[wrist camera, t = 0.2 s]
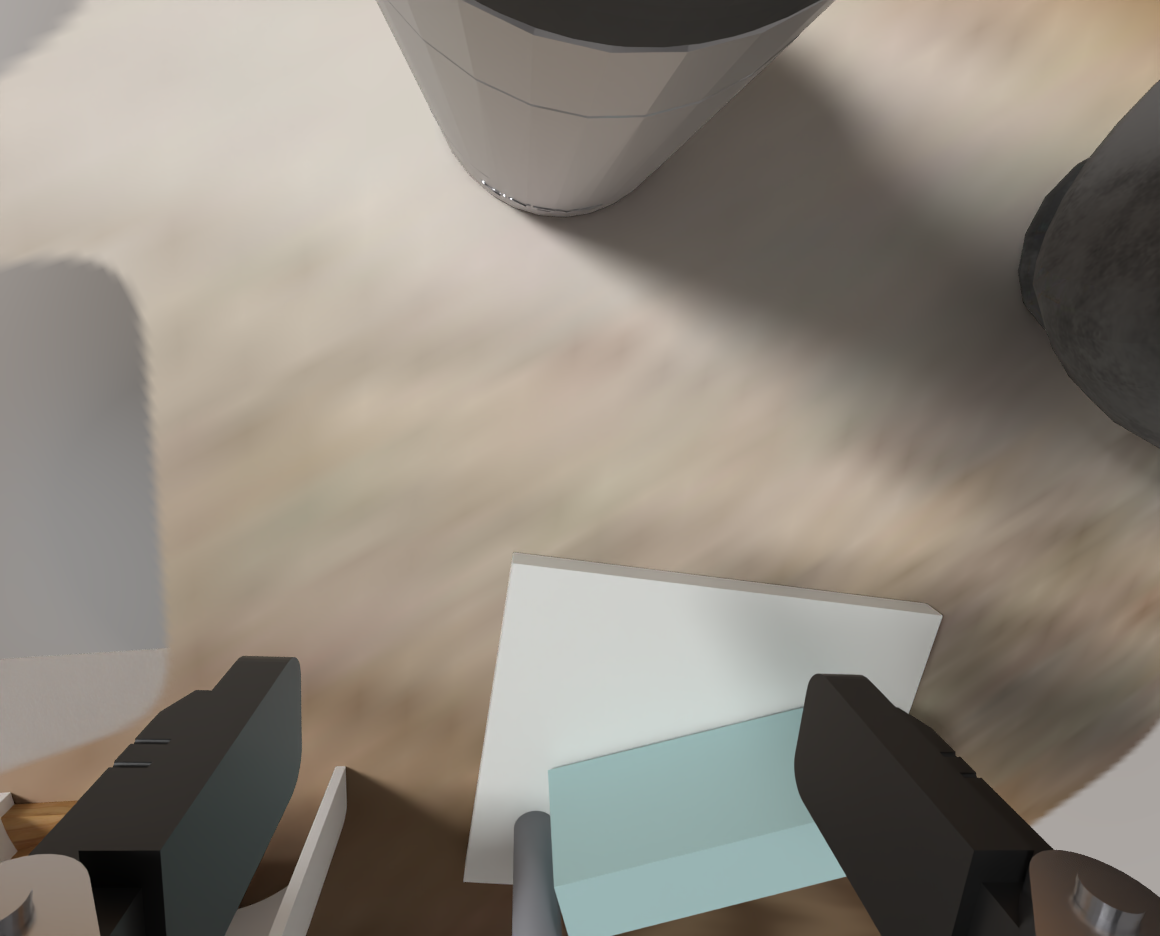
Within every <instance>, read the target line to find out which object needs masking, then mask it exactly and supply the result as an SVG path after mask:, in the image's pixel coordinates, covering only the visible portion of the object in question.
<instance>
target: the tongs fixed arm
mask: <svg viewBox="0 0 1160 936" xmlns="http://www.w3.org/2000/svg"><path fill="white" fill-rule="evenodd" d="M561 924H562V936H568V933H567V930H566V926H565V923H564V919H563V916H562V913H561ZM613 936H881V934H880V933H879V931H878V929H877V927H876V926H875V924H874V922H873V921H872V919H871V917H870V916H869V914H868V912H867V910H866V909H865V907H864V905H863V904H862V902H861V900H860V898H859V897H858V895H857V893H856V892H855V890H854V888H853V887H852V885H851V883H850V881H849V880H848V878H847V876H846V877H842V878H838V879H834V880H830V881H826V882H822V883H818V884H815V885H811V886H807V887H803V888H799V889H795V890H791V891H787V892H783V893H779V894H775V895H771V896H767V897H763V898H759V899H755V900H751V901H747V902H743V903H739V904H735V905H731V906H728V907H724V908H720V909H716V910H712V911H708V912H704V913H700V914H696V915H692V916H688V917H684V918H680V919H676V920H672V921H668V922H664V923H660V924H656V925H652V926H648V927H644V928H641V929H637V930H633V931H629V932H625V933H621V934H617V935H613Z"/></svg>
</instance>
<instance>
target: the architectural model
mask: <svg viewBox="0 0 1160 936" xmlns="http://www.w3.org/2000/svg"><path fill="white" fill-rule="evenodd" d="M167 652H168V648H160V649H145V650H130V651H114V652H99V653H83V654H69V655H68V654H67V655H52V656H37V657H21V658H5V659H0V773H1V772H4V771H6V770H9V769H12V768H15V767H18V766H21V765H24V764H27V763H30V762H33V761H36V760H39V759H42V758H45V757H48V756H51V755H54V754H57V753H60V752H62V751H65V750H68V749H71V748H74V747H77V746H80V745H83V744H86V743H89V742H92V741H94V740H97V739H100V738H103V737H106V736H108V735H111V734H113V733H116V732H118V731H120V730H122V729H124V728H126V727H128V726H129V725H130V724H132V723H133V722H134V721H136V720H138V719H139V718H141V717H143V716H144V715H145V714H146V713H147V712H148V711H149V709H150V708H151V707H152V706H154V704H155V703H156V701H157V699H158V698H159V696H160V694H161V691H162V689H163V686H164V683H165V677H166V674H167V663H168V662H167ZM76 803H77V801H64V802H46V803H28V804H14V801H13V798H12V795H11V792H8V793H0V863H1V862H4V861H7V860H11V859H15V858H19V857H23V856H28V855H29V854H30V853H31V851H32V850H33V849H34V848H35V847H36V846H37V845H38V844H39V843H40V842H41V841H42V840H43V838H44V837H45V836H46V835H47V834H48V833H49V832H50V831H51V830H52V829H53V828H54V826H55V825H56V824H57V823H58V822H59V821H60V820H61V819H62V818H63V817H64V816H65V815H66V813H67V812H68V811H69V810H70V809H71V808H72V807H73V806H74V805H75V804H76ZM346 810H347V794H346V766H336V767H335V769H334V772H333V774H332V777H331V779H330V782H329V784H328V787H327V789H326V792H325V795H324V797H323V800H322V802H321V805H320V807H319V810H318V812H317V815H316V817H315V820H314V822H313V825H312V827H311V830H310V832H309V835H308V837H307V840H306V842H305V845H304V847H303V850H302V852H301V855H300V857H299V860H298V862H297V865H296V868H295V870H294V873H293V875H292V878H291V880H290V883H289V885H288V886H287V887H285V888H284V889H282V890H281V891H279V892H277V893H276V894H274V895H272V896H270V897H268V898H266V899H264V900H262V901H260V902H257V903H255V904H252V905H249V906H247V907H244V908H240V909H237V911H236V913H235V915H234V917H233V919H232V921H231V923H230V925H229V927H228V929H227V932H226V934H225V936H306V934H307V931H308V928H309V925H310V922H311V919H312V916H313V913H314V910H315V907H316V904H317V901H318V898H319V895H320V893H321V890H322V887H323V884H324V881H325V878H326V875H327V872H328V869H329V866H330V863H331V860H332V857H333V854H334V851H335V848H336V845H337V842H338V839H339V836H340V834H341V831H342V828H343V824H344V820H345V816H346Z"/></svg>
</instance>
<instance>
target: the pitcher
mask: <svg viewBox="0 0 1160 936" xmlns="http://www.w3.org/2000/svg"><path fill="white" fill-rule="evenodd" d="M1018 273H1019V279H1020V285H1021V291H1022V297H1023V303H1024V304H1025V305H1026V307H1027V308H1028V309H1029V311H1030V312H1031V313H1032V314H1033V316H1034V317H1035V318H1036V319H1037V321H1038V322H1039V323H1040V325H1041V326H1042V327H1043V328H1044V329H1045V330H1046V332H1047V334H1048V337H1049V340H1050V343H1051V346H1052V348H1053V350H1054V352H1055V354H1056V355H1057V357H1058V359H1059V360H1060V362H1061V364H1062V365H1063V367H1064V369H1065V371H1066V372H1067V374H1068V376H1069V377H1070V378H1071V379H1072V380H1073V381H1074V382H1075V383H1076V384H1077V385H1078V386H1079V387H1080V388H1081V390H1082V391H1083V392H1084V393H1085V394H1086V395H1087V396H1088V397H1089V398H1090V399H1091V400H1092V401H1093V402H1094V403H1095V404H1096V405H1097V406H1098V407H1099V408H1100V409H1101V410H1102V411H1103V412H1104V413H1105V414H1106V415H1107V416H1108V417H1109V418H1111V419H1112V420H1113V421H1114V422H1115V423H1117V424H1119V425H1120V426H1122V427H1124V428H1125V429H1127V430H1129V431H1131V432H1132V433H1134V434H1136V435H1138V436H1139V437H1141V438H1143V439H1144V440H1146V441H1148V442H1150V443H1151V444H1153V445H1155V446H1156V447H1158V448H1160V80H1159V81H1158V82H1157V83H1156V84H1155V85H1154V86H1153V87H1152V88H1151V89H1150V90H1149V91H1148V92H1147V93H1146V94H1145V95H1144V96H1143V97H1142V98H1141V99H1140V100H1139V101H1138V102H1137V103H1136V104H1135V105H1134V106H1133V107H1132V109H1131V110H1130V111H1129V112H1128V113H1127V114H1126V115H1125V116H1124V117H1123V118H1122V119H1121V120H1120V121H1119V122H1118V123H1117V124H1116V126H1115V127H1114V128H1113V129H1112V131H1111V132H1110V133H1109V134H1108V135H1107V137H1106V138H1105V139H1104V140H1103V142H1102V143H1101V144H1100V145H1099V147H1098V148H1097V149H1096V150H1095V151H1094V153H1093V154H1092V155H1091V156H1090V158H1088V159H1086V160H1084V161H1082V162H1081V163H1079V164H1077V165H1076V166H1075V167H1074V168H1073V169H1072V170H1071V171H1070V172H1069V173H1068V174H1067V175H1066V176H1065V177H1064V178H1063V179H1062V180H1061V181H1060V182H1059V183H1058V184H1057V186H1056V187H1055V188H1054V189H1053V190H1052V191H1051V192H1050V193H1049V194H1048V195H1047V196H1046V197H1045V199H1044V200H1043V202H1042V204H1041V206H1040V208H1039V210H1038V212H1037V214H1036V215H1035V217H1034V219H1033V221H1032V223H1031V225H1030V227H1029V229H1028V230H1027V232H1026V235H1025V240H1024V245H1023V250H1022V255H1021V260H1020V265H1019V270H1018Z"/></svg>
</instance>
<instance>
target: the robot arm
mask: <svg viewBox="0 0 1160 936" xmlns="http://www.w3.org/2000/svg"><path fill="white" fill-rule="evenodd" d="M376 1H377V3H378V5H379V7H380V9H381V11H382V13H383V15H384V17H385V19H386V21H387V23H388V25H389V27H390V29H391V31H392V33H393V35H394V37H395V39H396V41H397V43H398V45H399V47H400V49H401V51H402V53H403V55H404V57H405V59H406V61H407V63H408V65H409V67H410V69H411V71H412V73H413V75H414V77H415V79H416V81H417V83H418V85H419V87H420V89H421V91H422V93H423V95H424V97H425V99H426V101H427V103H428V105H429V108H430V110H431V112H432V114H433V115H434V117H435V119H436V121H437V123H438V125H439V126H440V128H441V130H442V132H443V134H444V136H445V138H446V140H447V142H448V144H449V146H450V148H451V151H452V153H453V154H454V155H455V157H456V158H457V159H458V161H459V162H460V163H461V165H462V166H463V167H464V169H465V170H466V171H467V172H468V174H469V175H470V176H471V177H472V178H473V179H474V180H475V181H476V182H478V183H479V184H480V185H481V186H482V187H483V188H484V189H486V190H487V191H488V192H489V193H490V194H491V195H493V196H495V197H497V198H498V199H500V200H502V201H504V202H505V203H507V204H509V205H511V206H512V207H514V208H518V209H521V210H524V211H527V212H530V213H534V214H537V215H544V216H557V217H568V216H575V215H582V214H589V213H591V212H594V211H597V210H599V209H602V208H604V207H607V206H609V205H612V204H614V203H615V202H617V201H618V200H620V199H621V198H623V197H624V196H626V195H627V194H629V193H630V192H631V191H633V190H634V189H635V188H636V187H638V186H639V185H640V184H641V183H642V182H643V181H644V180H645V179H646V178H647V177H648V176H649V175H650V174H651V173H653V172H654V171H655V170H656V169H657V168H658V167H659V166H661V165H662V164H663V163H664V162H665V161H666V160H667V159H668V158H669V157H670V156H671V155H672V154H673V153H674V152H676V151H677V150H678V149H679V148H680V147H681V146H682V145H683V144H684V143H685V142H686V141H687V140H688V139H689V138H690V137H692V136H693V135H694V134H695V133H696V132H697V131H698V130H699V129H700V128H701V127H702V126H703V125H704V124H705V123H706V122H707V121H709V120H710V119H711V118H712V117H713V116H714V115H715V114H716V113H717V112H718V111H719V110H720V109H721V108H722V107H723V106H725V105H726V104H727V103H728V102H729V101H730V100H731V99H732V98H733V97H734V96H735V95H736V94H737V93H738V92H739V91H741V90H742V89H743V88H744V87H745V86H746V85H747V84H748V83H749V82H750V81H751V80H752V79H753V78H754V77H755V76H757V75H758V74H759V73H760V72H761V71H762V70H763V69H764V68H765V67H766V66H767V65H768V64H769V63H770V62H771V61H772V60H774V59H775V58H776V57H777V56H778V55H779V54H780V53H781V52H782V51H783V50H784V49H785V48H786V47H787V46H788V45H790V44H791V43H792V42H793V41H794V40H795V39H796V38H797V37H798V36H799V34H800V33H801V32H802V31H803V30H804V29H805V28H807V27H808V26H809V25H810V24H811V23H812V22H813V21H814V20H815V19H816V18H817V17H818V16H819V15H820V14H821V13H822V12H823V11H825V10H826V9H827V8H828V7H829V6H830V5H831V4H832V3H833V2H834V1H835V0H376ZM301 752H302V733H301V671H300V664H299V661H298V659H297V658H295V657H264V656H242V657H240V658H239V659H238V660H237V661H236V662H235V663H234V665H233V666H232V667H231V668H230V669H229V671H228V672H227V673H226V674H225V675H224V677H223V678H222V679H221V680H220V681H219V683H218V684H217V685H216V686H215V687H214V689H213V690H212V691H209V690H195V691H194V692H192V693H190V694H189V695H187V696H185V697H184V698H182V699H180V700H179V701H177V702H176V703H174V704H172V705H171V706H169V707H167V708H166V709H164V710H162V711H161V712H159V714H158V715H157V716H156V717H155V718H154V719H153V720H152V721H151V722H150V723H149V724H148V725H147V727H146V728H145V729H144V730H143V731H142V732H141V733H140V734H139V735H138V736H137V737H136V739H135V743H134V744H130V745H129V746H128V747H127V748H126V749H125V750H124V752H123V753H122V754H121V755H120V756H119V757H118V758H117V759H116V760H115V761H114V766H113V768H108V769H107V770H106V771H105V772H104V773H103V774H102V775H101V777H100V778H99V779H98V780H97V781H96V782H95V783H94V784H93V785H92V786H91V787H90V788H89V790H88V791H87V792H86V793H85V794H84V795H83V796H82V797H81V798H80V799H79V800H78V801H77V803H76V804H75V805H74V806H73V807H72V808H71V809H70V810H69V811H68V812H67V813H66V815H65V816H64V817H63V818H62V819H61V820H60V821H59V822H58V823H57V824H56V825H55V826H54V828H53V829H52V830H51V831H50V832H49V833H48V834H47V835H46V836H45V837H44V838H43V840H42V841H41V842H40V843H39V844H38V845H37V846H36V847H35V848H34V849H33V850H32V851H31V853H30V854H29V855H28V856H23V857H19V858H15V859H11V860H7V861H4V862H1V863H0V936H225V934H226V932H227V929H228V927H229V925H230V923H231V921H232V919H233V917H234V915H235V913H236V911H237V909H238V907H239V905H240V902H241V900H242V898H243V896H244V894H245V892H246V890H247V888H248V886H249V884H250V882H251V880H252V877H253V875H254V873H255V871H256V869H257V867H258V865H259V863H260V861H261V859H262V857H263V855H264V853H265V850H266V848H267V846H268V844H269V842H270V840H271V838H272V836H273V834H274V832H275V830H276V828H277V826H278V823H279V821H280V819H281V817H282V815H283V813H284V811H285V809H286V807H287V805H288V803H289V801H290V798H291V796H292V794H293V791H294V788H295V785H296V782H297V778H298V774H299V769H300V762H301ZM794 773H795V780H796V785H797V789H798V792H799V795H800V797H801V799H802V801H803V803H804V805H805V807H806V808H807V810H808V812H809V813H810V815H811V817H812V818H813V820H814V822H815V824H816V825H817V827H818V829H819V830H820V832H821V834H822V835H823V837H824V839H825V841H826V842H827V844H828V846H829V847H830V849H831V851H832V852H833V854H834V856H835V858H836V859H837V861H838V863H839V864H840V866H841V868H842V870H843V871H844V873H845V875H846V876H847V878H848V880H849V881H850V883H851V885H852V887H853V888H854V890H855V892H856V893H857V895H858V897H859V898H860V900H861V902H862V904H863V905H864V907H865V909H866V910H867V912H868V914H869V916H870V917H871V919H872V921H873V922H874V924H875V926H876V927H877V929H878V931H879V933H880V934H881V936H1160V897H1158V896H1157V895H1156V894H1155V893H1153V892H1152V891H1151V890H1150V889H1148V888H1147V887H1145V886H1144V885H1142V884H1141V883H1140V882H1138V881H1137V880H1135V879H1133V878H1131V877H1130V876H1128V875H1127V874H1125V873H1124V872H1122V871H1119V870H1118V869H1116V868H1114V867H1112V866H1110V865H1108V864H1105V863H1103V862H1101V861H1099V860H1096V859H1093V858H1091V857H1088V856H1085V855H1081V854H1078V853H1074V852H1068V851H1063V850H1053V848H1051V846H1049V845H1048V844H1047V843H1046V842H1045V841H1044V840H1043V839H1042V838H1041V837H1040V836H1039V835H1038V834H1037V833H1036V832H1035V831H1034V830H1033V829H1032V828H1031V827H1030V826H1029V825H1028V824H1027V823H1026V822H1025V821H1024V820H1023V819H1022V818H1021V817H1020V816H1019V815H1018V814H1017V813H1016V812H1015V811H1014V810H1013V809H1012V808H1011V807H1010V806H1009V805H1008V804H1007V803H1006V802H1005V801H1004V800H1003V799H1002V798H1001V797H1000V796H999V795H998V794H997V793H996V792H995V791H994V790H993V789H992V788H991V787H990V786H989V785H988V784H987V783H986V782H985V781H984V780H983V779H982V778H977V776H976V772H975V771H974V770H973V769H972V768H971V767H970V766H969V765H968V764H967V763H966V762H965V761H964V760H963V759H962V758H961V757H956V755H955V751H954V750H953V749H952V748H951V747H950V746H949V745H948V744H947V743H946V742H945V741H944V740H943V739H942V738H941V737H940V736H939V735H938V734H937V733H936V732H935V731H934V730H933V729H932V728H930V727H929V726H927V725H925V724H924V723H922V722H921V721H919V720H918V719H916V718H914V717H913V716H911V715H910V714H908V713H906V712H905V711H903V710H902V709H900V708H899V707H895V706H894V705H893V704H892V703H891V702H890V701H889V700H888V699H887V698H886V697H885V696H884V694H883V693H882V692H881V691H880V690H879V689H878V688H877V687H876V686H875V685H874V684H873V683H872V682H871V681H870V680H869V679H868V678H867V677H865V676H863V675H856V674H820V673H818V674H815V675H813V676H812V677H811V679H810V681H809V683H808V686H807V691H806V696H805V702H804V707H803V713H802V718H801V724H800V729H799V735H798V740H797V746H796V751H795V757H794Z"/></svg>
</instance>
